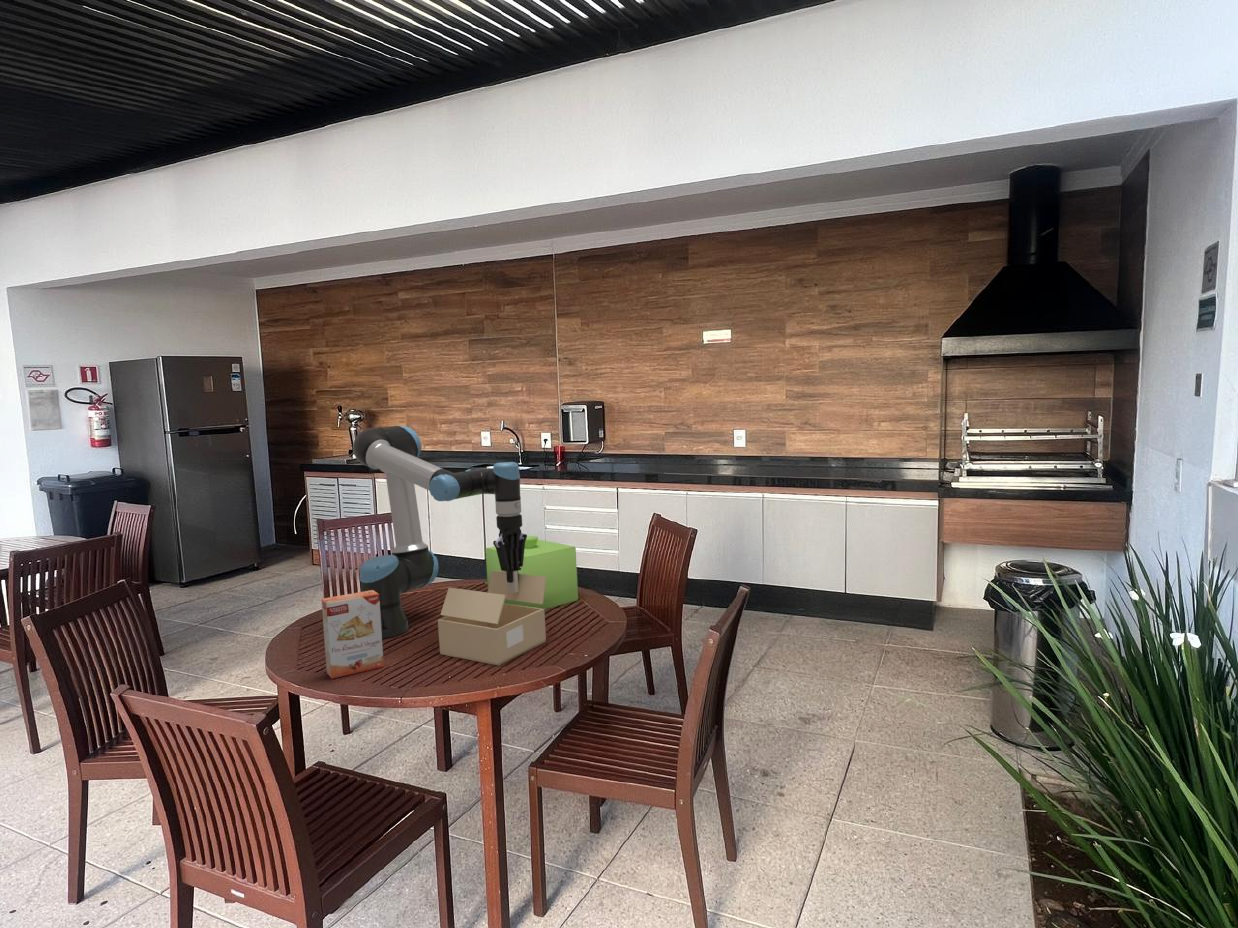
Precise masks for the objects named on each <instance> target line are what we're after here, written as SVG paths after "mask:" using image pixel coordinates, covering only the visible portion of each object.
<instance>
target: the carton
mask: <svg viewBox="0 0 1238 928" xmlns="http://www.w3.org/2000/svg"><path fill="white" fill-rule="evenodd" d="M545 615H546V614H545V609H542V608H535V607H527V606H520V605H513V604H506V603H504V605H503V608H502V612H501V616H500V619H499V623H498V624H493V623H487V622H481V621H475V620H469V619H462V618H456V617H450V616H444V617H441V618H439V619H437V626H438V627H437V630H438V642H439V654H440V655H443V656H449V657H453V658H459V659H462V660H463V659H464V660H468V661H473V662H479V663H483V664H488V665H494V666H498V667H499V666H501V665H504V664H505V663H508V662H509V661H511V660H513V659H516V658H518V657H519V656H522V655H523V654H526V653H527V652H529V651H531V650H533V649H535V648H537V647H540V646H541V645H543V644H545V643H547V635H546V632H547V631H546V621H545V620H546V616H545Z"/></svg>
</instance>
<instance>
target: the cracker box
mask: <svg viewBox="0 0 1238 928" xmlns="http://www.w3.org/2000/svg"><path fill="white" fill-rule="evenodd" d="M321 609H322V613H321V614H322V625H323V639H324V640H323V641H324V653H325V665H326V666H325V667H326V674H327V675H328V676H329V677H330V679H332V680H333V679H337V678H342V677H345V676H350V675H353V674H359V673H363V672H368V671H372V670H376V669H379V668H384V649H383V648H384V647H383V639H382V631H381V615H380V600H379V594H378V593H377V592H375V591H374V590H369V591H364V592H361V591H360V592H353V593H347V594H342V595H335V596H328V597H325V598H321Z"/></svg>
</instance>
